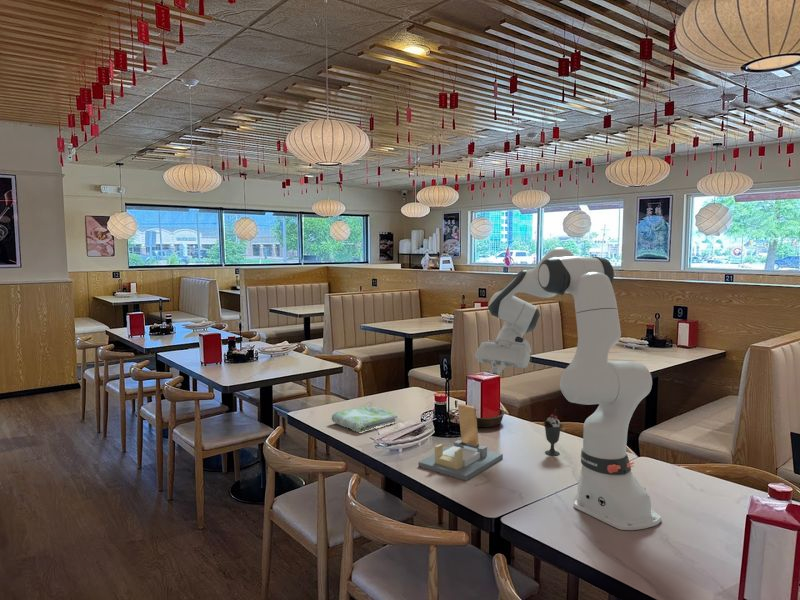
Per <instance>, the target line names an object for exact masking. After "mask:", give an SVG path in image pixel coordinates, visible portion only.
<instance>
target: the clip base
mask: <svg viewBox="0 0 800 600" xmlns="http://www.w3.org/2000/svg"><path fill="white" fill-rule="evenodd" d="M461 443H462V441H461V439H458V440H456V441H453V444H452V445H450V446H448V447H446V448H444V447H443V446H444V445H443V443H439V444H437V445H434V454H432V455H429V456H427V457H426V458H424V459H422V460H419V461H417V462H418V467H419V466H421V467H420V468H422V467H424V468H423V469H425V468H427V469H426V470H429V471H432V470H433V472H435V471H436V473H438V472H439V474H442V475H445V474H446V475H445V476H448V475H449V476H450V477H453V478H456V479H459V480H462V481H469V479H471V478H473V477H474V476H476V475H478V474H479V473H481V472H483V471H484V470H486V469H487V468H489V467H491V466H493V465H495V464H496V463H498V462H499V461H501V460H502V459H504V457H503V455H504V454H503V453H501V452H496V451H492V450H488V446H485V445H481V446H480V445H479V447H478V448H477V449H476V448H472V447H468V446H464V445H462V444H461Z"/></svg>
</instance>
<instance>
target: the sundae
mask: <svg viewBox="0 0 800 600" xmlns="http://www.w3.org/2000/svg"><path fill="white" fill-rule="evenodd" d="M556 411H557V409H556V408H555V409H554V412H553V413H552V414H550V416H549V417H547V419H546V420H545V421H543V423H542V425H543V426H544V430H545V437H546V441H547V442H548V443H549V444H550V448H549V449H548V450H545V452H544V453H545V455H548V456H549V457H550V456H552V457H556V456H557V457H558V456H560V454H561V453H560V452H559V451H557V450H556V449H555V445H556V443H558V442H559V439H560V435H561V429H562V428H563V427H564V425H563V424H562V423H561V422H560V420H559V419H558V416H557V412H556ZM554 414H555V415H554Z"/></svg>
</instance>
